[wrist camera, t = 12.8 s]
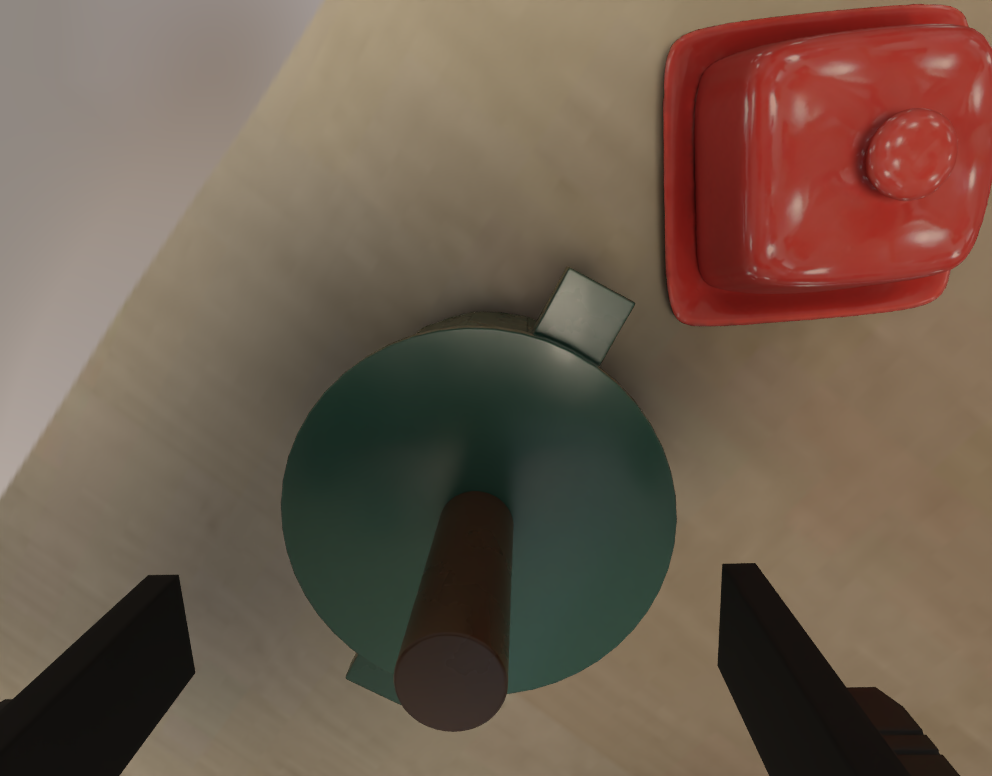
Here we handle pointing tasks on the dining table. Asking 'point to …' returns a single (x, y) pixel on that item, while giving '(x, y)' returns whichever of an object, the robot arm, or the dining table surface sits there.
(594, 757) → the dining table surface
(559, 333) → the pot
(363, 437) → the pot lid
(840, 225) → the butter dish
